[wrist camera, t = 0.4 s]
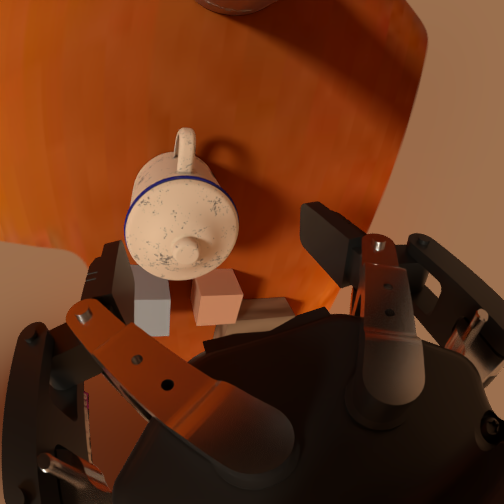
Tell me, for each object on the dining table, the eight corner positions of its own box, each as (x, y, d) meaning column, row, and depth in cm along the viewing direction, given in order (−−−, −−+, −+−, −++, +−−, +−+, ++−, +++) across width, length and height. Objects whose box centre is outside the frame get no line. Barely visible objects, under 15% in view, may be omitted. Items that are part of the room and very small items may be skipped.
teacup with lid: (211, 229, 32) (239, 300, 23) (131, 229, 28) (126, 306, 19) (227, 123, 25) (272, 153, 16) (134, 118, 22) (118, 144, 13)
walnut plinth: (221, 300, 39) (228, 321, 35) (284, 297, 42) (295, 315, 39) (212, 343, 44) (217, 363, 41) (267, 338, 47) (275, 356, 44)
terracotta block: (193, 268, 34) (201, 296, 30) (232, 268, 36) (243, 294, 32) (190, 298, 37) (196, 325, 33) (225, 296, 39) (235, 323, 35)
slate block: (117, 264, 30) (114, 299, 26) (166, 265, 32) (170, 299, 28) (120, 301, 33) (119, 336, 29) (164, 301, 36) (169, 335, 31)
